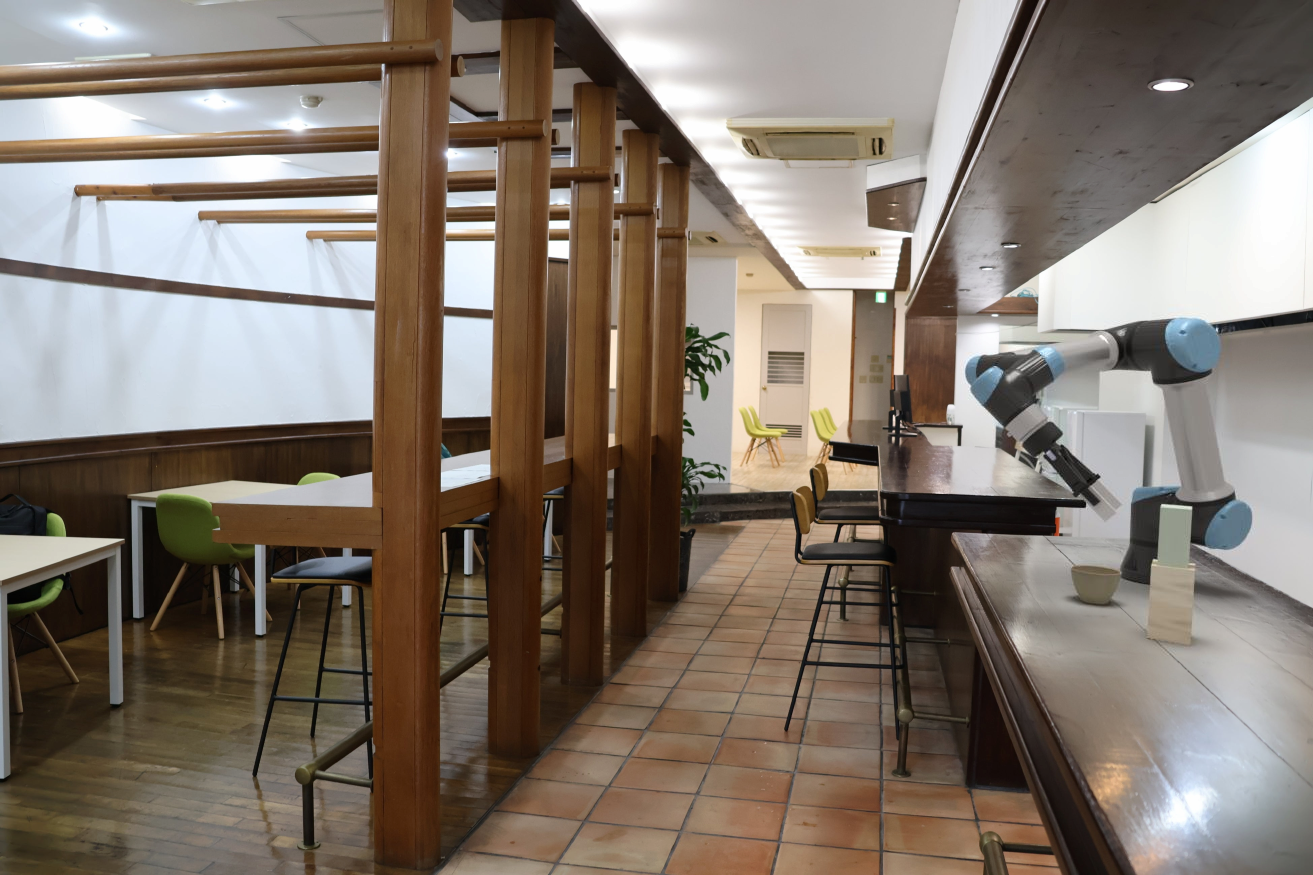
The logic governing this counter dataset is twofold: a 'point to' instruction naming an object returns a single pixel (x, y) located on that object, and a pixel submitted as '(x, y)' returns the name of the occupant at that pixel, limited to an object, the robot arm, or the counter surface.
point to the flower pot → (1095, 583)
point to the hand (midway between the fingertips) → (1114, 513)
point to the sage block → (1174, 536)
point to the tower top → (1172, 585)
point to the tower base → (1170, 623)
